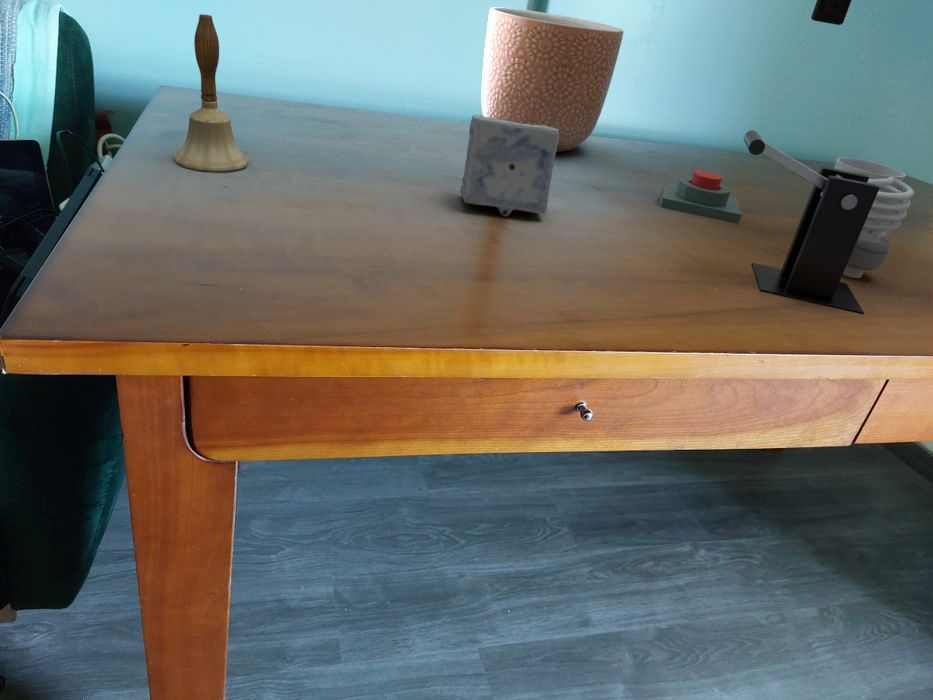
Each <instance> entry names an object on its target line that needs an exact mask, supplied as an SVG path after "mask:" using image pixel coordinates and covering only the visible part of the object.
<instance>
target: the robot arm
mask: <svg viewBox="0 0 933 700" xmlns="http://www.w3.org/2000/svg"><path fill="white" fill-rule="evenodd" d="M851 3H852V0H816V2H815V5H814V8H813V11H812V13H811V17H810V18H811V20H812V21H814V22H820V23H825V24H832V25H836V26H841V25H843V24H844V23H845V19H846V16H847V14H848V11H849V8H850V5H851Z"/></svg>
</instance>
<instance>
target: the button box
mask: <svg viewBox="0 0 933 700" xmlns="http://www.w3.org/2000/svg"><path fill="white" fill-rule="evenodd" d="M692 178H693V177H689V176H686V177H680V178H679V181H678V185H675V184H669V183H665V182H663V183H662V186H661V190H660V193H659V197H658V206H659V207H660V208H664V209H668V210H673V211H677V212H683V213H687V214H691V215H696V216H701V217H706V218H711V219H714V220H715V219H716V220H720V221H724V222H729V223H733V224H739V223H740V221H741V218H742V211H741V208H740V206H739V202H738V199H737V198H736V197H733V196H730V195H731V189H730V188H729V187H728V186H726V185H724V184H722V183H720V186H719V189H718V190H709V189H704V188H700V187H697V186H694V185H692V184H691V181H692Z"/></svg>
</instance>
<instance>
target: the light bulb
mask: <svg viewBox="0 0 933 700" xmlns="http://www.w3.org/2000/svg"><path fill="white" fill-rule="evenodd" d="M867 183H870V184H875V185H878V186H879V187H880V189H879V190H881V191H884V192H878V194H877V196H876V198H875V200H877V201H879V202H882V203H875V202H874V203H873V205H872V207H871V210H873V211H875V212H878V213H880V214H874V213H869V214H868V217H867V219H866V220H868V221H871V222H873V223H875V224H869V223H865V224H864V226H863V228H862V230H869V231H874V232H881V234H875V233H869V232H866V231H861V233H860V235H859V238H858V240H857V242H856V245H855V247H854V249H853V252H852V254H851V256H850V259H849V261H848V263H847V266H846V268H845V270H844V273H843V275H844V276H847V277H850V278H854V279H860V278H862V276H863V275H864V273H865V271H874V270H878V269H879V268H880V267H881V266H882V263H883V262H884V261H885V259H886V257H887V255H888V253H889V251H890V248H891V243H890V242H889V241H888V240H887V239H888V236H889V234H890V232H892V231H895V230H897V229H899V228H900V227H901V226H902V220H904V219H905V218H906V217H907V215H908V209H909V208H910V207H911V205H912V202H911V201H912V200H911V198H912V197H914V195H915V191H914V190H913V188H912V187H911V186H909V185H908V184H907V183H905V182H904V181H903V182H902V181H900V180H898V179H896V178H893V177H889V178H887V179H869V180H868V182H867ZM889 185H893V186H895V187H897V188H899V190H897V189H895V188H893V187H891V186H889ZM885 192H886V193H885ZM900 201H901V203H899V202H900ZM883 203H884V204H883ZM892 211H894V212H892ZM895 212H897V213H895ZM843 275H842V276H843Z"/></svg>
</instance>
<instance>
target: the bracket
mask: <svg viewBox="0 0 933 700" xmlns="http://www.w3.org/2000/svg"><path fill="white" fill-rule="evenodd" d="M818 173H819V174H821V175H822V176H824V177H826V178H827V179H828V180H827V183H826V185H825V188H824V190H822V189H820V188H818V187H817V186H815V185H813V187H812V189H811V191H810V194H809V197H808V199H807V202H806V206H805V207H804V210H803V213H802V214H801V215H802V216H801V217H800V220H799V223H798V225H797V229H796V230H795V234H794V237H793V239H792V242H791V244H790V247H789V250H788V252H787V253H786V256H785V260H784V262H783V264H782V268H779V267H774V266H770V265H765V264H760V263H756V262H752V263H751V268H752V270H753V274H754V277H755V280H756V281H755V282H756V283H757V287H758V290H759V292H761V293H766V294H770V295H775V296H779V297H783V298H788V299H793V300H797V301H802V302H806V303H810V304H815V305H820V306H824V307H829V308H832V309H837V310H842V311H846V312H851V313H854V314H859V315H864V314H865V312H864V309H863V308H862V307H861V304H860V303H859V301H858V300H857V298H856V296H855V295H854V293H853V291H852V289H851V288H850V287H849V285H848V283H846V282H842V281H841V279H842V277H843V273H844V270H845V268H846V266H847V263H848V261H849V259H850V256H851V254H852V252H853V249H854V247H855V245H856V242H857V240H858V238H859V235H860V233H861V231H862V228H863V226H864V224H865V221H866V219H867V217H868V214H869V212H870V210H871V207H872V205H873V203H874V201H875V198H876V196H877V194H878V191H879V189H880V187H879V186H878V185H875V184H870V183H867V182H868V180H869V177H868V176H867V175H864V174H859V173H854V172H849V171H844V170H839V169H834V167H830V166H829V167H828V166H822V165H821V167H820V169H819V172H818ZM836 174H837V175H839V176H841V177H842V178H840V177H835V175H836ZM822 191H823V193H822ZM821 193H822V195H821V196H820V194H821Z"/></svg>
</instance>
